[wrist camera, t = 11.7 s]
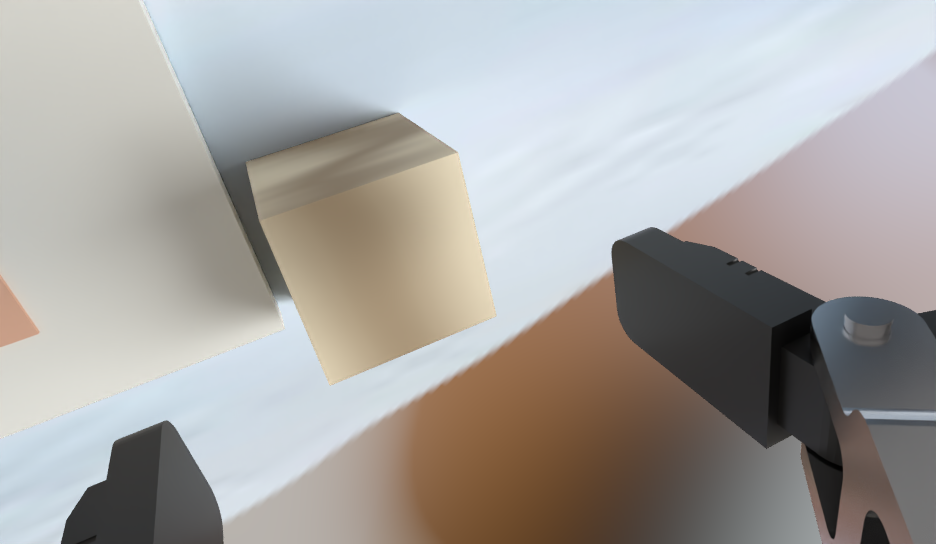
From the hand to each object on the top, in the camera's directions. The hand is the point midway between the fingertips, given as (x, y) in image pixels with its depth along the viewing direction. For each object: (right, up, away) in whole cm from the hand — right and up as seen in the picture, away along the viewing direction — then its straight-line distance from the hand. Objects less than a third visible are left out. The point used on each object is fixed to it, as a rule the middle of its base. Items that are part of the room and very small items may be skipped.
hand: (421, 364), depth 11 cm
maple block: (-3, +4, +8) cm, 9 cm away
